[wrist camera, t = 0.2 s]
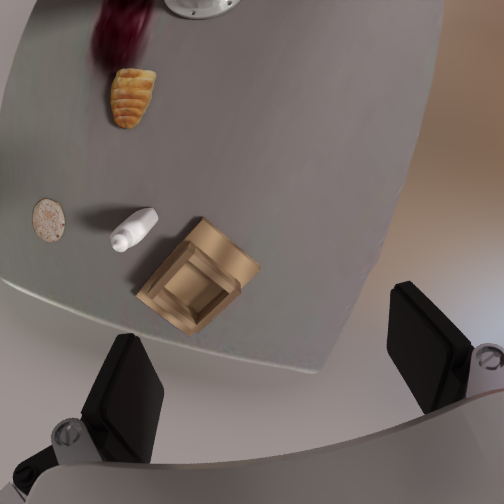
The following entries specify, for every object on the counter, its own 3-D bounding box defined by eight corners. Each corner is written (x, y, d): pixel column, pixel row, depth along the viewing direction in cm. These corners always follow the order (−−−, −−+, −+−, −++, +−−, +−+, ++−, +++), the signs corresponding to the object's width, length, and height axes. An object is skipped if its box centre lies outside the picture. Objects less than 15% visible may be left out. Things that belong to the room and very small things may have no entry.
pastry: (149, 130, 41) (141, 129, 37) (109, 127, 40) (98, 127, 37) (159, 71, 38) (152, 65, 34) (118, 70, 37) (109, 65, 33)
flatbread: (57, 248, 47) (55, 250, 46) (29, 226, 45) (26, 228, 44) (72, 212, 45) (70, 213, 44) (43, 189, 43) (40, 190, 42)
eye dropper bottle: (159, 234, 47) (137, 265, 36) (126, 232, 46) (97, 262, 35) (159, 207, 45) (135, 231, 34) (125, 206, 45) (94, 229, 34)
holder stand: (138, 291, 50) (129, 306, 46) (203, 216, 46) (200, 226, 41) (190, 331, 54) (187, 348, 49) (260, 265, 50) (262, 279, 45)
